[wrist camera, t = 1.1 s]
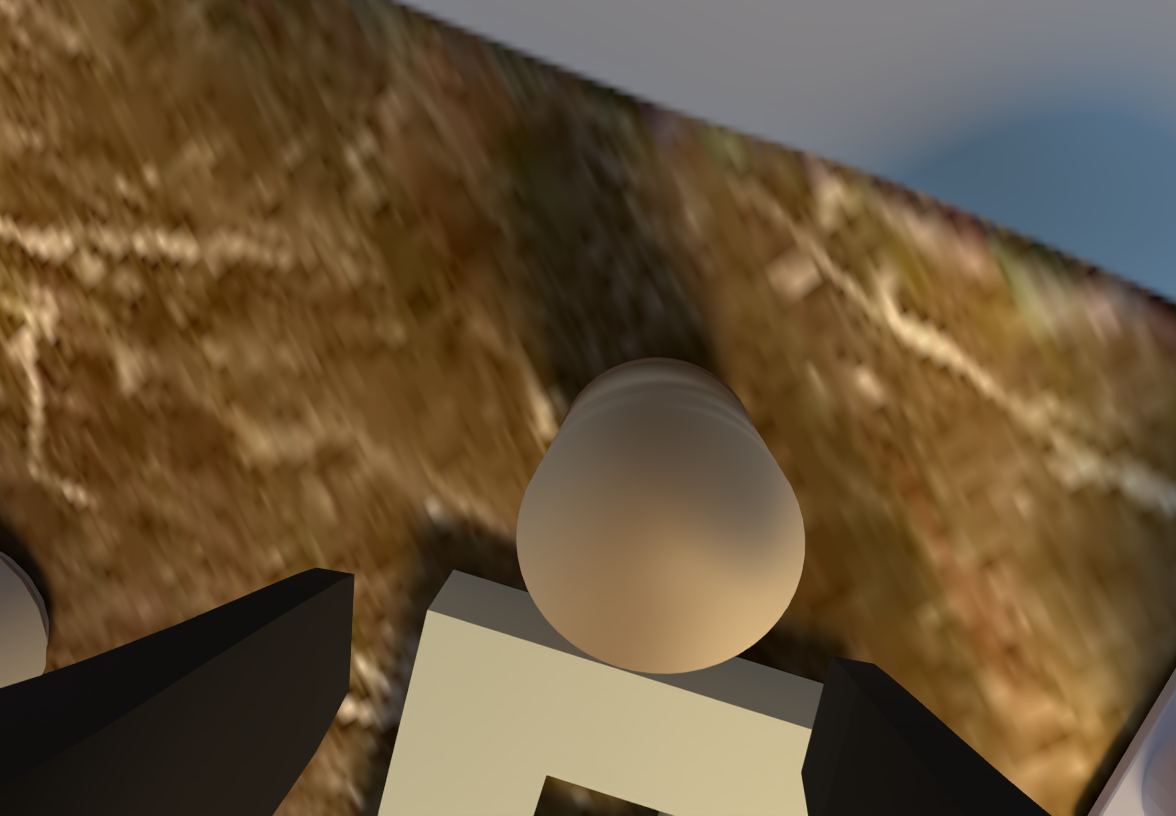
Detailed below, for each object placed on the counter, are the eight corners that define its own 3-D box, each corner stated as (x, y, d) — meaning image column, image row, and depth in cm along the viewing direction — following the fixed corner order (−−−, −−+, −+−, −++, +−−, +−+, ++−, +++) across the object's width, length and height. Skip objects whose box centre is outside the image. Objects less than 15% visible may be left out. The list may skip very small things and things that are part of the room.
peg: (768, 374, 18) (853, 456, 11) (711, 534, 20) (749, 710, 12) (596, 324, 19) (555, 368, 11) (550, 485, 20) (484, 627, 12)
